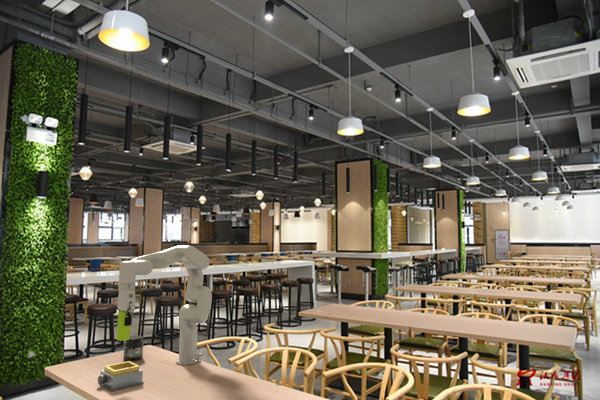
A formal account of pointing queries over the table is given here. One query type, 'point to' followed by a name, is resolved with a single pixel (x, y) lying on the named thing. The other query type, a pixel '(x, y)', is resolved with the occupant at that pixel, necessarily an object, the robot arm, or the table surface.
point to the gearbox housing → (120, 376)
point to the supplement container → (133, 348)
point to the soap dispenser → (122, 327)
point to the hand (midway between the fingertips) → (124, 324)
